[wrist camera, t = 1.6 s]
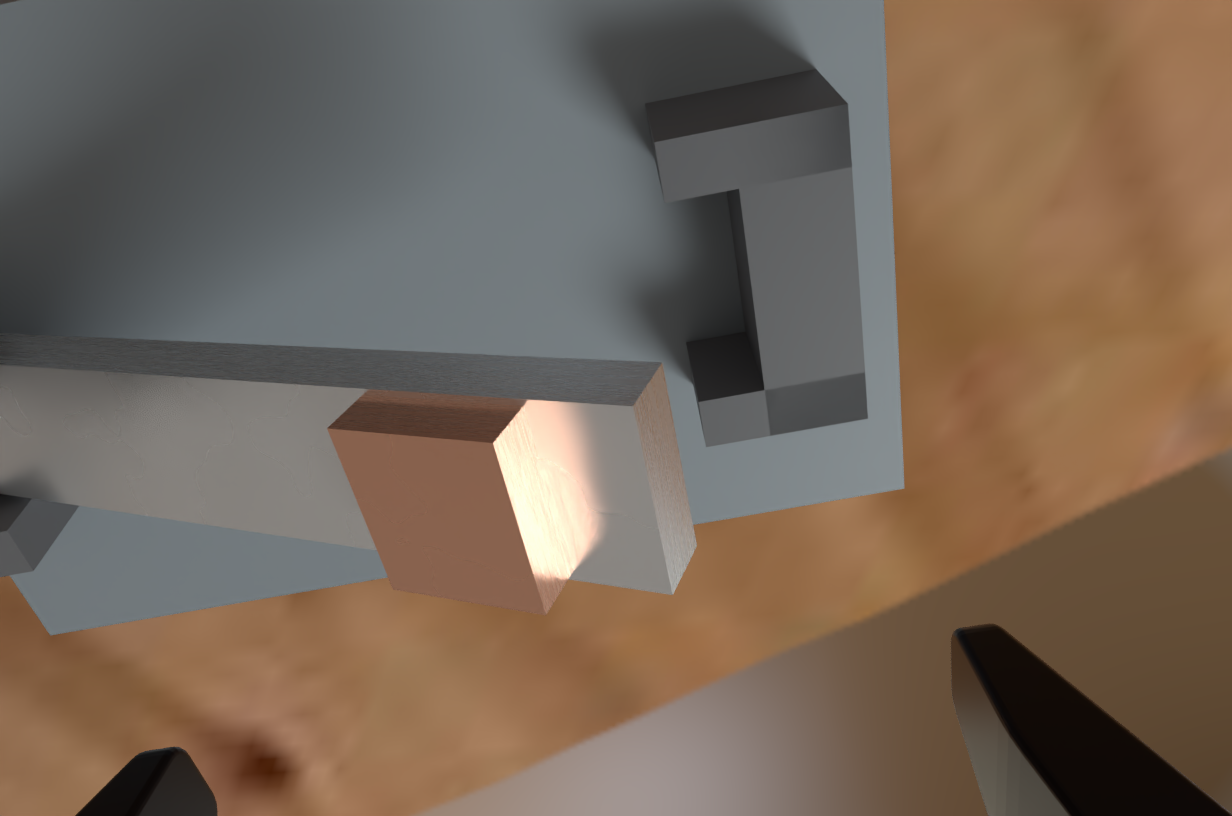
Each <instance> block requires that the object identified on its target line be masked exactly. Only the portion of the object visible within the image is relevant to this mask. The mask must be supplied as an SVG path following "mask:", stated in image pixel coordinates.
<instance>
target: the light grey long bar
mask: <svg viewBox="0 0 1232 816" xmlns="http://www.w3.org/2000/svg"><path fill="white" fill-rule="evenodd" d="M0 494H5V495H11V496H18V497H25V498H31V499H38V500H45V501H51V502H58V503H65V504H71V505H78V506H85V507H91V508H98V509H105V510H111V511H118V512H125V513H131V514H138V515H145V516H151V517H158V518H165V519H171V520H178V521H184V522H191V523H198V524H204V525H211V526H218V527H224V528H231V529H238V530H244V531H251V532H258V533H264V534H271V535H278V536H284V537H291V538H298V539H304V540H311V541H318V542H324V543H331V544H338V545H344V546H351V547H357V548H364V549H371V550H377V552H378V554H379V556H380V559H381V561H382V564H383V566H384V569H385V571H386V573H387V576H388V578H389V581H390V583H391V586H392V588H393V589H394V590H400V591H406V592H412V593H418V594H424V595H430V596H436V597H442V598H447V599H453V600H459V601H465V602H471V603H477V604H483V605H489V606H495V607H501V608H506V609H512V610H518V611H524V612H530V613H536V614H542V615H546V614H547V613H548V611H549V609H550V608H551V606H552V605H553V603H554V601H555V600H556V598H557V596H558V595H559V593H560V591H561V590H562V588H563V587H564V585H565V583H566V582H567V580H568V579H570V580H577V581H584V582H590V583H597V584H604V585H610V586H617V587H624V588H630V589H637V590H644V591H650V592H657V593H664V594H670V595H673V593H674V591H675V589H676V587H677V585H678V583H679V581H680V579H681V577H682V575H683V573H684V571H685V569H686V567H687V565H688V563H689V561H690V559H691V557H692V555H693V552H694V550H695V548H696V546H697V544H696V539H695V533H694V528H693V523H692V517H691V512H690V507H689V501H688V496H687V491H686V485H685V480H684V475H683V469H682V464H681V459H680V453H679V448H678V443H677V437H676V432H675V427H674V422H673V416H672V411H671V406H670V400H669V395H668V390H667V384H666V379H665V374H664V368H663V363H662V362H644V361H621V360H599V359H576V358H553V357H531V356H508V355H486V354H463V353H440V352H418V351H395V350H373V349H350V348H327V347H305V346H282V345H259V344H237V343H214V342H192V341H169V340H146V339H124V338H101V337H79V336H56V335H33V334H11V333H0Z"/></svg>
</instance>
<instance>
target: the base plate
mask: <svg viewBox="0 0 1232 816" xmlns="http://www.w3.org/2000/svg"><path fill="white" fill-rule="evenodd" d="M0 333H11V334H33V335H56V336H79V337H101V338H124V339H146V340H169V341H192V342H214V343H237V344H259V345H282V346H305V347H327V348H350V349H373V350H395V351H418V352H440V353H463V354H486V355H508V356H531V357H553V358H576V359H599V360H621V361H644V362H662V363H663V368H664V374H665V379H666V384H667V390H668V395H669V400H670V406H671V411H672V416H673V422H674V427H675V432H676V437H677V443H678V448H679V453H680V459H681V464H682V469H683V475H684V480H685V485H686V491H687V496H688V501H689V507H690V512H691V517H692V523H693V525H695V524H700V523H706V522H712V521H718V520H724V519H729V518H735V517H741V516H747V515H753V514H759V513H764V512H770V511H776V510H782V509H788V508H793V507H799V506H805V505H811V504H817V503H822V502H828V501H834V500H840V499H846V498H852V497H857V496H863V495H869V494H875V493H881V492H886V491H892V490H898V489H904V469H903V446H902V422H901V398H900V375H899V351H898V328H897V304H896V281H895V257H894V233H893V210H892V186H891V163H890V139H889V116H888V92H887V68H886V45H885V21H884V0H0ZM9 575H10V577H11V578H12V580H13V581H14V582H15V584H16V585H17V587H18V588H19V590H20V591H21V593H22V594H23V596H24V597H25V599H26V600H27V602H28V603H29V605H30V606H31V608H32V609H33V610H34V612H35V613H36V615H37V616H38V618H39V619H40V621H41V622H42V624H43V625H44V627H45V628H46V630H47V631H48V633H49V634H50V635H55V634H61V633H67V632H72V631H78V630H84V629H90V628H96V627H101V626H107V625H113V624H119V623H125V622H131V621H136V620H142V619H148V618H154V617H160V616H165V615H171V614H177V613H183V612H189V611H194V610H200V609H206V608H212V607H218V606H224V605H229V604H235V603H241V602H247V601H253V600H258V599H264V598H270V597H276V596H282V595H288V594H293V593H299V592H305V591H311V590H317V589H322V588H328V587H334V586H340V585H346V584H351V583H357V582H363V581H369V580H375V579H381V578H386V577H388V576H387V573H386V571H385V569H384V566H383V564H382V561H381V559H380V556H379V554H378V552H377V550H371V549H364V548H357V547H351V546H344V545H338V544H331V543H324V542H318V541H311V540H304V539H298V538H291V537H284V536H278V535H271V534H264V533H258V532H251V531H244V530H238V529H231V528H224V527H218V526H211V525H204V524H198V523H191V522H184V521H178V520H171V519H165V518H158V517H151V516H145V515H138V514H131V513H125V512H118V511H111V510H105V509H98V508H91V507H85V506H78V505H71V504H65V503H58V502H51V501H45V500H38V499H31V498H25V497H18V496H11V495H5V494H0V577H3V576H9Z"/></svg>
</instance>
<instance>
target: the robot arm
mask: <svg viewBox="0 0 1232 816" xmlns="http://www.w3.org/2000/svg"><path fill="white" fill-rule="evenodd" d="M951 687H952V696H953V702H954V706H955V710H956V714H957V717H958V720H959V723H960V726H961V730H962V733H963V736H964V739H965V743H966V746H967V749H968V752H969V755H970V759H971V762H972V765H973V768H974V772H975V775H976V778H977V781H978V784H979V788H980V791H981V794H982V797H983V801H984V804H985V807H986V810H987V813H988V816H1232V814H1231V813H1230V812H1229V811H1227V810H1226V809H1225V808H1224V807H1223V806H1221V805H1220V804H1219V803H1218V802H1216V801H1215V800H1214V799H1213V798H1212V797H1210V796H1209V795H1208V794H1206V793H1205V792H1204V791H1203V790H1201V789H1200V788H1199V787H1198V786H1197V785H1195V784H1194V783H1193V782H1192V781H1190V780H1189V779H1188V778H1187V777H1186V776H1184V775H1183V774H1182V773H1181V772H1179V771H1178V770H1177V769H1176V768H1175V767H1173V766H1172V765H1171V764H1170V763H1168V762H1167V761H1166V760H1164V759H1163V758H1162V757H1161V756H1160V755H1159V754H1157V753H1156V752H1155V751H1154V750H1152V749H1151V748H1150V747H1149V746H1147V745H1146V744H1145V743H1144V742H1142V741H1141V740H1140V739H1139V738H1137V737H1136V736H1135V735H1134V734H1133V733H1131V732H1130V731H1129V730H1128V729H1126V728H1125V727H1124V726H1123V725H1122V724H1120V723H1119V722H1118V721H1116V720H1115V719H1114V718H1113V717H1112V716H1110V715H1109V714H1108V713H1107V712H1105V711H1104V710H1103V709H1102V708H1101V707H1099V706H1098V705H1097V704H1096V703H1094V702H1093V701H1092V700H1090V699H1089V698H1088V697H1087V696H1086V695H1084V694H1083V693H1082V692H1081V691H1080V690H1078V689H1077V688H1076V687H1075V686H1073V685H1072V684H1071V683H1070V682H1068V681H1067V680H1066V679H1065V678H1063V677H1062V676H1061V675H1060V674H1058V673H1057V672H1056V671H1055V670H1054V669H1052V668H1051V667H1050V666H1049V665H1047V664H1046V663H1045V662H1044V661H1043V660H1041V659H1040V658H1039V657H1037V656H1036V655H1035V654H1034V653H1033V652H1031V651H1030V650H1029V649H1028V648H1027V647H1025V646H1024V645H1023V644H1022V643H1020V642H1019V641H1018V640H1017V639H1015V638H1014V637H1013V636H1012V635H1011V634H1009V633H1008V632H1007V631H1006V630H1004V629H1003V628H1002V627H1000V626H998V625H995V624H984V625H977V626H970V627H963V628H959V629H956V630H955V631H954V632H953V634H952V638H951ZM75 816H217V804H216V800H215V797H214V794H213V792H212V791H211V789H210V788H209V786H208V784H207V783H206V781H205V780H204V778H203V776H202V775H201V773H200V772H199V770H198V769H197V767H196V765H195V764H194V762H193V761H192V759H191V757H190V756H189V754H188V753H187V752H186V751H185V750H183V749H181V748H180V747H169V748H163V749H156V750H149V751H145V752H142V753H140V754H138V755H137V756H135V757H134V758H133V759H132V760H131V761H130V762H129V763H128V764H127V765H126V766H125V767H124V768H123V769H122V770H121V771H120V772H119V773H118V774H117V775H116V776H115V777H114V778H113V779H112V780H111V781H110V782H109V783H108V784H107V785H106V786H105V787H104V788H103V789H102V790H101V791H100V792H99V793H98V794H97V795H96V796H94V797H93V798H92V799H91V800H90V801H89V802H88V803H87V804H86V805H85V806H84V807H83V808H82V809H81V810H80V811H79V812H78V813H77V814H76V815H75Z"/></svg>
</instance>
